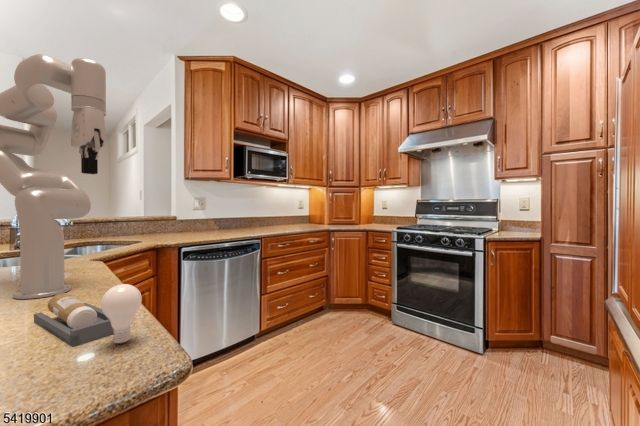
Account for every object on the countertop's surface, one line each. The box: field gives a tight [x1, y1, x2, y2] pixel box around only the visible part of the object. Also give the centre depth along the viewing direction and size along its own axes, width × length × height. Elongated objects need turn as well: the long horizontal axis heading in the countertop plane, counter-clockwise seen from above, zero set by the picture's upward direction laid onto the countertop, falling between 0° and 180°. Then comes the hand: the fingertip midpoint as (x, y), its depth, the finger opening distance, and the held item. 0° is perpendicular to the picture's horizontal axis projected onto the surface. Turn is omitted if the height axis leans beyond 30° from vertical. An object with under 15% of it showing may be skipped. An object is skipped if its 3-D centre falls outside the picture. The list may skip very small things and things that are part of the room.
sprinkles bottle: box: [47, 292, 97, 329], centre depth 62 cm, size 5×5×13 cm
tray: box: [33, 302, 114, 347], centre depth 63 cm, size 22×9×3 cm, turn 58°
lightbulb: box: [100, 283, 143, 345], centre depth 54 cm, size 6×6×11 cm
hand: (89, 173), depth 81 cm, fingers closed
